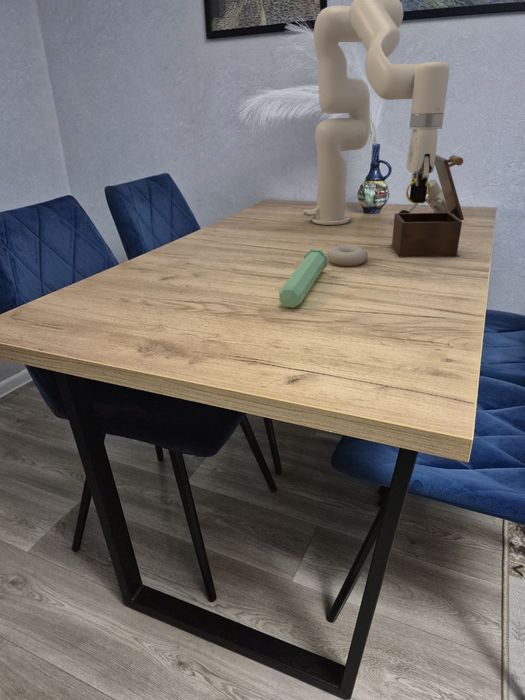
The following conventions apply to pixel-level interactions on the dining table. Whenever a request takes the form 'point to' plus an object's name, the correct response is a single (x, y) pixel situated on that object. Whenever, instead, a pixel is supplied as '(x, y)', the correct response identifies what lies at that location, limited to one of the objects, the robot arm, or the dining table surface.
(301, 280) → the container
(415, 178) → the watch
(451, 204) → the lid
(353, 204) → the dining table surface
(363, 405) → the dining table surface
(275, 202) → the dining table surface
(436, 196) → the valve
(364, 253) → the donut
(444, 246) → the chest
